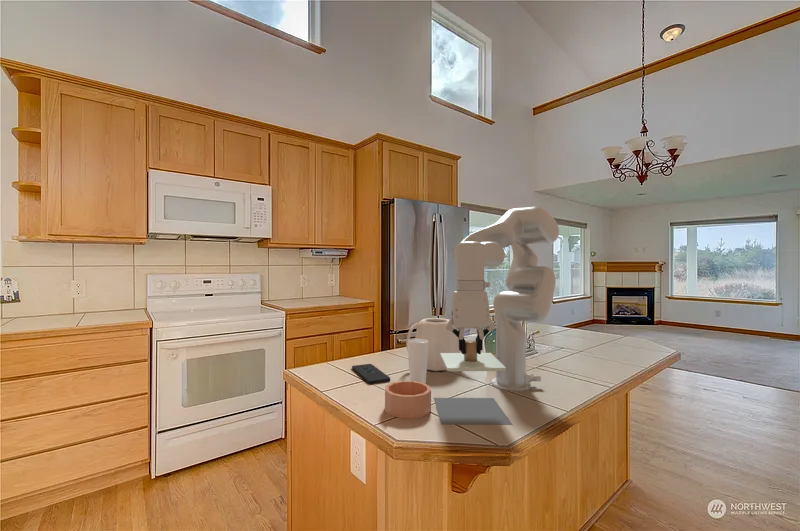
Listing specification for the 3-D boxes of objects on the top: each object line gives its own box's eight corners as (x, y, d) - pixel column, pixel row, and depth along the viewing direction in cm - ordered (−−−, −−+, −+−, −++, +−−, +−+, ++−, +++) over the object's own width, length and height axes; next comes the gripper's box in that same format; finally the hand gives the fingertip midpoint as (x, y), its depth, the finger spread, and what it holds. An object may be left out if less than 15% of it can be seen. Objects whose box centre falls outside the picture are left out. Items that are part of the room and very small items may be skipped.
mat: (493, 399, 108) (493, 397, 108) (512, 426, 90) (512, 424, 90) (433, 399, 108) (433, 397, 108) (440, 426, 90) (440, 424, 90)
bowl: (428, 401, 106) (428, 380, 106) (432, 419, 93) (432, 396, 93) (385, 401, 106) (385, 380, 106) (384, 419, 93) (384, 396, 93)
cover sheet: (490, 355, 106) (490, 335, 106) (505, 370, 91) (505, 348, 91) (440, 355, 106) (440, 336, 106) (447, 371, 91) (447, 348, 91)
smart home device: (371, 363, 142) (391, 377, 124) (371, 367, 142) (391, 382, 124) (351, 365, 139) (368, 380, 120) (351, 370, 139) (368, 385, 120)
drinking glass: (426, 389, 116) (427, 343, 116) (406, 388, 117) (406, 342, 117) (429, 383, 122) (429, 339, 122) (409, 381, 124) (410, 338, 124)
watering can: (479, 370, 137) (479, 321, 137) (412, 375, 130) (412, 323, 130) (462, 360, 152) (462, 315, 152) (401, 364, 145) (401, 317, 145)
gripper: (496, 285, 102) (496, 349, 103) (438, 285, 102) (438, 349, 103) (504, 287, 95) (504, 356, 95) (442, 287, 95) (442, 356, 95)
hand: (470, 352), depth 99 cm, fingers closed on cover sheet, 3 cm apart
